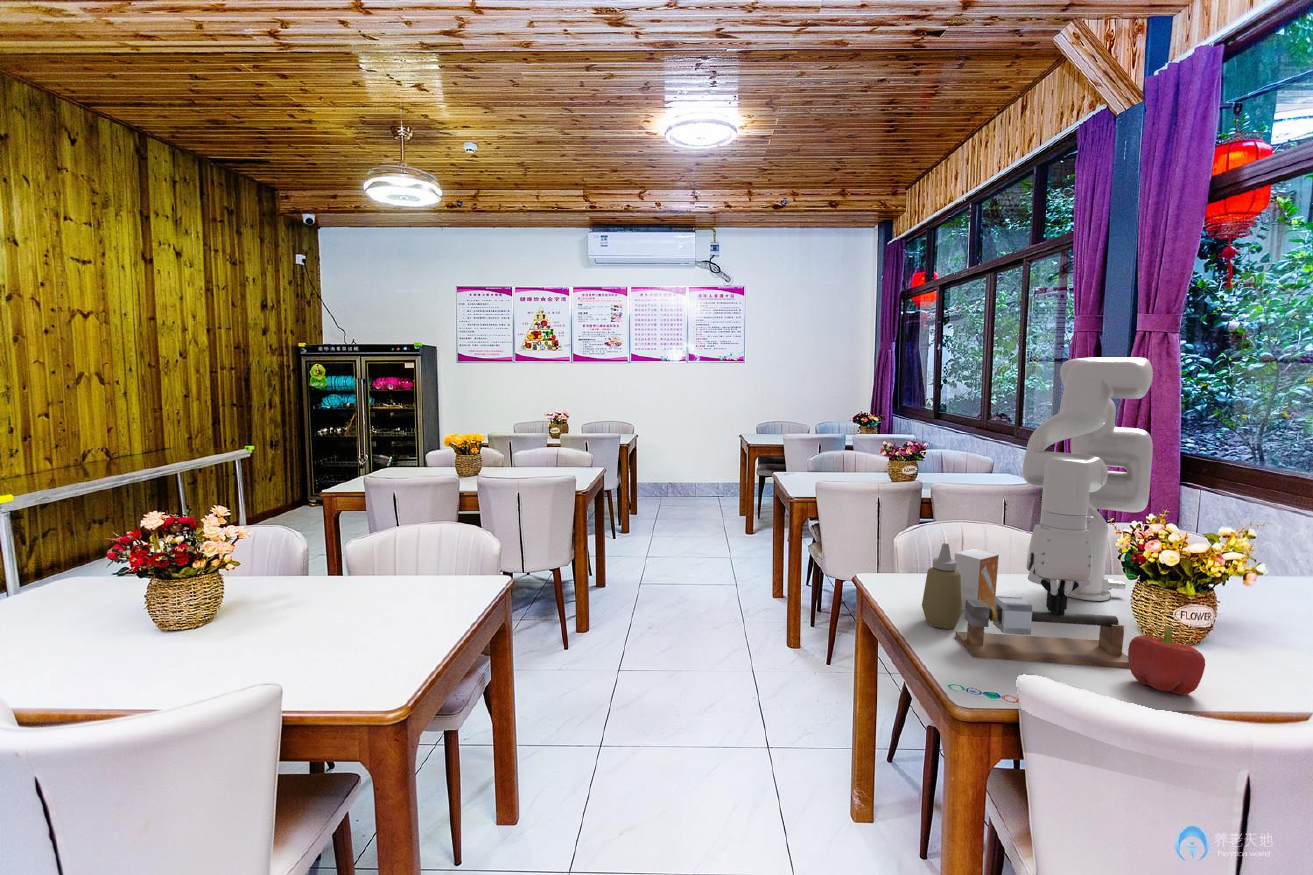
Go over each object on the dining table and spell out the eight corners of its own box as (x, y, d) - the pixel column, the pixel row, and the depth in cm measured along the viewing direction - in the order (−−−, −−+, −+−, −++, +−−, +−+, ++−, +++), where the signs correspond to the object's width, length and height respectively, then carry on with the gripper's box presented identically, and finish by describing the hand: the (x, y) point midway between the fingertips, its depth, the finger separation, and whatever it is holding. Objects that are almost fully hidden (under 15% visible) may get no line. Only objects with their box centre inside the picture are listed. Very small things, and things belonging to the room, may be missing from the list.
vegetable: (1127, 666, 116) (1131, 615, 115) (1200, 684, 110) (1205, 630, 109) (1124, 688, 108) (1129, 633, 107) (1203, 709, 101) (1209, 651, 100)
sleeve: (1019, 625, 125) (1021, 597, 124) (1030, 635, 120) (1032, 606, 119) (993, 623, 125) (994, 595, 125) (1003, 633, 121) (1005, 604, 120)
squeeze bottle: (960, 621, 137) (966, 541, 135) (961, 634, 130) (967, 550, 128) (921, 614, 140) (925, 537, 139) (920, 627, 133) (924, 546, 131)
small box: (976, 615, 141) (980, 559, 140) (950, 606, 146) (953, 552, 145) (995, 608, 145) (999, 554, 144) (969, 599, 151) (972, 547, 149)
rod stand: (1105, 645, 125) (1109, 602, 125) (1137, 668, 116) (1141, 621, 115) (955, 635, 129) (957, 594, 128) (973, 657, 119) (976, 612, 118)
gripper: (1094, 518, 122) (1086, 608, 124) (1013, 515, 124) (1007, 603, 126) (1116, 527, 115) (1108, 623, 116) (1030, 523, 117) (1023, 617, 119)
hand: (1055, 612), depth 121 cm, fingers closed
